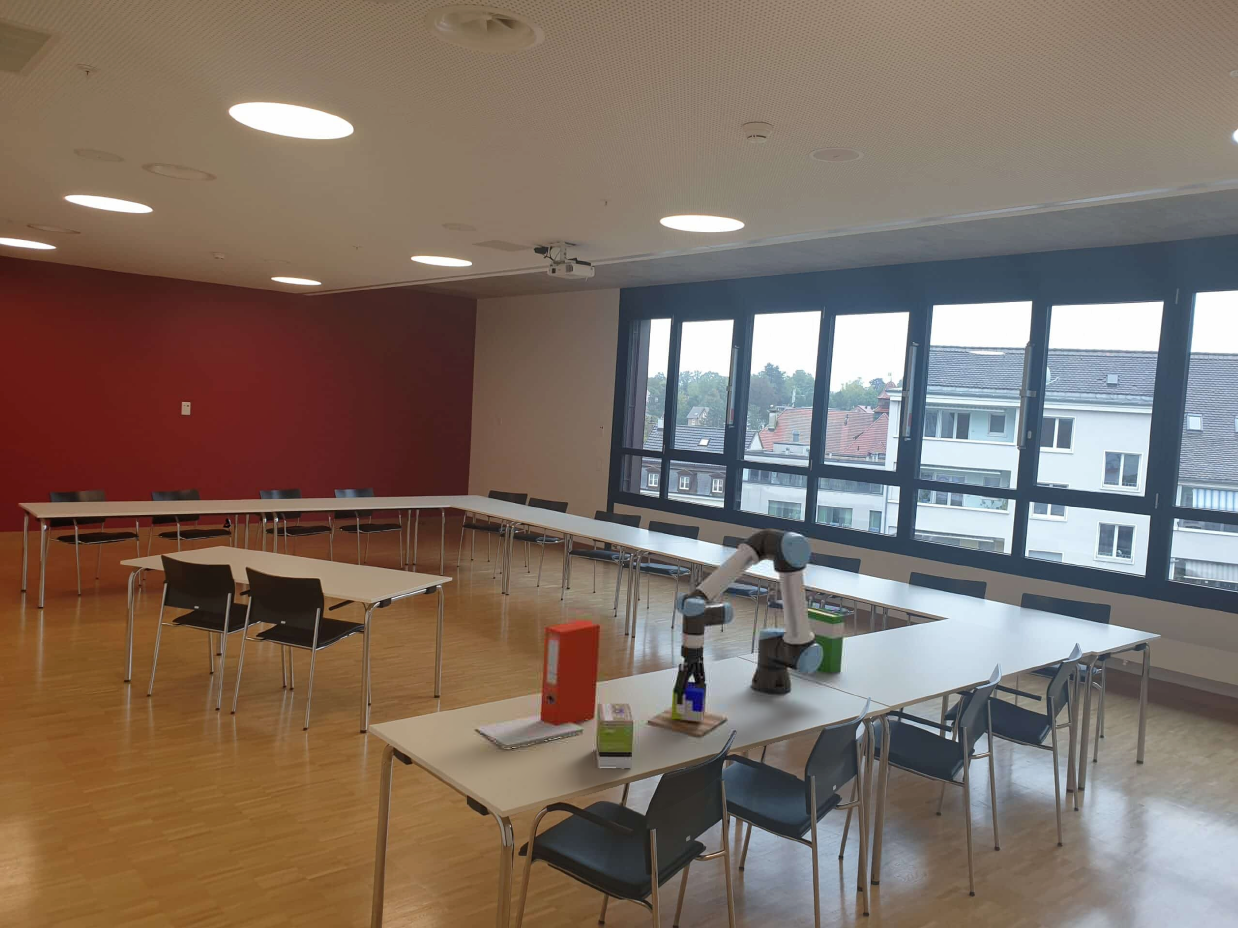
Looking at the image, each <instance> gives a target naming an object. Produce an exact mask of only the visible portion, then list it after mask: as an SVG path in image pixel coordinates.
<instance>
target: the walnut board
mask: <svg viewBox="0 0 1238 928" xmlns="http://www.w3.org/2000/svg"><path fill="white" fill-rule="evenodd" d="M727 721H728V717H726V716H721V715H718V714H713V713H710V712H706V711H705V713H704V716H703V719H702V721H701V722H698V721H690V720H682V719H674V718H672V706H671V707H669V708H667V709H665V710H664V711H662V712H661V713H658V714H656V715H655V716H653V717H651V718H649V719H647V724H649V725H654V726H656V727H661V728H664V729H668V730H671V731H674V732H675V731H676V732H679V733H683V734H686V735H689V736H694V737H697V738H702V737H704V736H706V735H708V733H711V732H712V731H713V730H716V729H717V728H718V727H719V726H721V725H723V724H724V723H726V722H727Z"/></svg>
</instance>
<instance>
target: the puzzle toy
mask: <svg viewBox="0 0 1238 928" xmlns="http://www.w3.org/2000/svg"><path fill="white" fill-rule="evenodd" d="M674 688H675V685H674V686H673V688H672V701H671V702H672V703H671V704H672V705H671V707H672V718H674V719H682V720H690V721H698V722H701V721H702V719H703V716H704V713H705V712H706V711H705V710H706V698H707V697H706V695H707V683H706V682H705V683H697V682H695V681H690V680H689V681H688V684H687V687H686V690H685V693H684V694H685V711H684V714H680V713H676V706H677V694H675V693H674Z"/></svg>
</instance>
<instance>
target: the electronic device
mask: <svg viewBox="0 0 1238 928" xmlns="http://www.w3.org/2000/svg"><path fill="white" fill-rule="evenodd" d="M540 719H541V714H537V715H533V716H528V717H523V718H517V719H514V720H513V719H511V720H509V721H508V720H507V721H502V722H498V723H492V724H487V725H482V726H479V727H478V726H477V727H475V730H476V729H477V730H479V731H480V732H482V733H484V735H486V736H487V737H490V738H491V739H493V740H494V741H496V742H497V743H499V744H500V745H501V746H503V747H504V748H506V749H507V748H512V747H518V746H523V745H528V744H532V743H537V742H542V741H545V740H549V739H554V738H558V737H564V738H566V737H565V736H569V735H573V734H578V733H582V734H584V727H582V726H580V725H578V724H577V723H575V724H574V723H571V722H568V723H564V724H561V725H557V726H555V725H552V724H549V723H547V722H544V721H541V720H540ZM477 730H476V731H477ZM480 732H479V733H480ZM484 735H483V736H484ZM578 735H579V734H578ZM486 736H485V737H486ZM487 737H486V738H487ZM569 737H570V736H569ZM542 743H543V742H542ZM537 744H538V743H537ZM501 746H500V747H501ZM528 746H529V745H528ZM504 748H503V749H504Z"/></svg>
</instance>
